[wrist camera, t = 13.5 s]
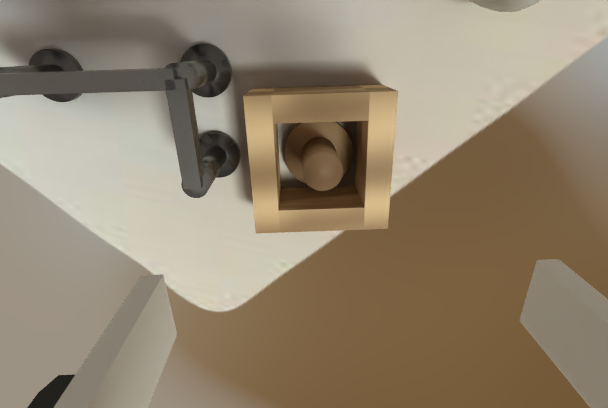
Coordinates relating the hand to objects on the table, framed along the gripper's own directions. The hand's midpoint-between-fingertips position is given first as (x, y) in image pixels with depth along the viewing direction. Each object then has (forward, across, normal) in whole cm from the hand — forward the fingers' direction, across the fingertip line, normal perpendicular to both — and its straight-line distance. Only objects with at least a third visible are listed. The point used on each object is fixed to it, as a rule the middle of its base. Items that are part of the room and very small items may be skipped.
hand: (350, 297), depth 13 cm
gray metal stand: (+21, -15, +3) cm, 26 cm away
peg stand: (+21, 0, 0) cm, 21 cm away
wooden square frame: (+21, 0, 0) cm, 21 cm away
